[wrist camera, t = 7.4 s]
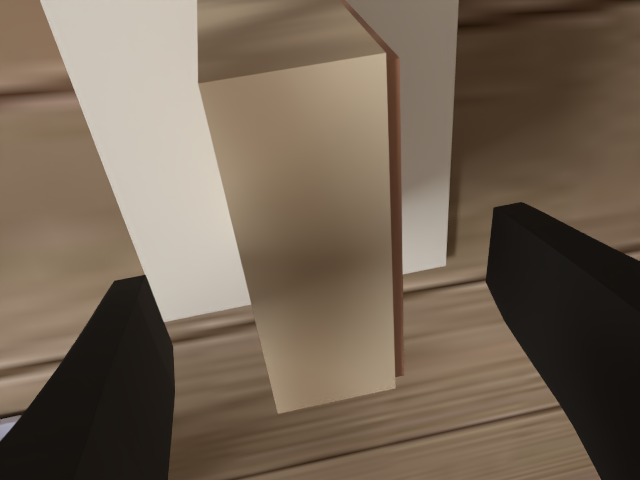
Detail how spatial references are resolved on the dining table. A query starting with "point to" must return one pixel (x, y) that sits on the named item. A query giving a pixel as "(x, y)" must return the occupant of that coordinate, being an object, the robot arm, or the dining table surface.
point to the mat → (196, 144)
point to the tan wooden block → (310, 188)
